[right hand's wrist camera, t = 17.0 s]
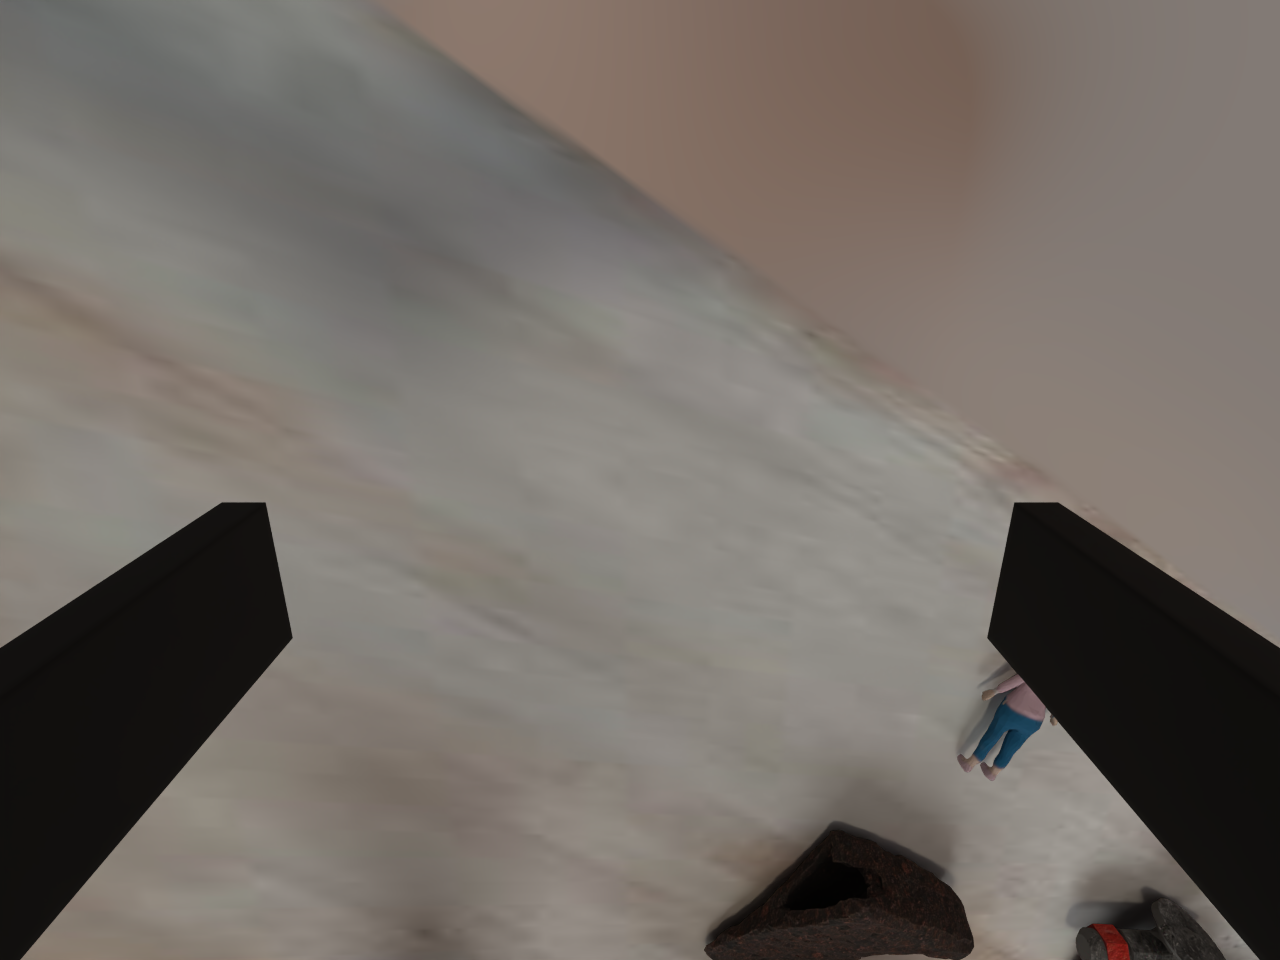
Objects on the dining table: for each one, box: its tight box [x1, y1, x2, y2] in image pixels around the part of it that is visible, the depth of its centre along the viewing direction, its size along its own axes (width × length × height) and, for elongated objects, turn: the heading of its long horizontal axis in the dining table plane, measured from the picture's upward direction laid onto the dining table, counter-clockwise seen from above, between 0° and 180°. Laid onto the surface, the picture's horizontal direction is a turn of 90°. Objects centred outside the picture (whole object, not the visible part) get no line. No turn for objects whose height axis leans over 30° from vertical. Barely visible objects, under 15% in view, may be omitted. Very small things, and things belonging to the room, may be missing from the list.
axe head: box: [704, 830, 974, 960], centre depth 56 cm, size 18×8×15 cm
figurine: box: [957, 674, 1058, 781], centre depth 48 cm, size 6×4×15 cm
